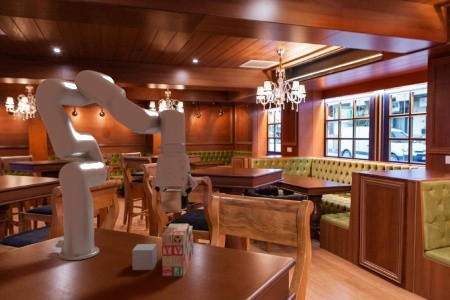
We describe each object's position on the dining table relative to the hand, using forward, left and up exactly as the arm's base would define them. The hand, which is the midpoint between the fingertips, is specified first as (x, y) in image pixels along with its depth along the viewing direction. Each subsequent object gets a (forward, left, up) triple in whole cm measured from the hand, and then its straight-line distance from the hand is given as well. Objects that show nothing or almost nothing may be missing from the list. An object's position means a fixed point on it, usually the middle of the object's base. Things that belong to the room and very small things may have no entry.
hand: (174, 207), depth 107 cm
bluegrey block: (-8, -4, -18) cm, 20 cm away
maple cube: (0, 0, -1) cm, 1 cm away
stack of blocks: (+1, +1, -18) cm, 18 cm away
